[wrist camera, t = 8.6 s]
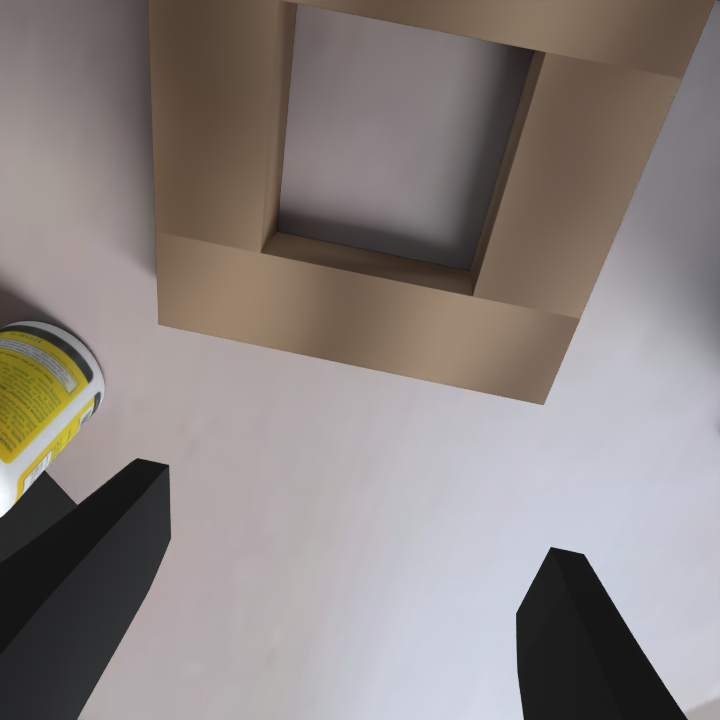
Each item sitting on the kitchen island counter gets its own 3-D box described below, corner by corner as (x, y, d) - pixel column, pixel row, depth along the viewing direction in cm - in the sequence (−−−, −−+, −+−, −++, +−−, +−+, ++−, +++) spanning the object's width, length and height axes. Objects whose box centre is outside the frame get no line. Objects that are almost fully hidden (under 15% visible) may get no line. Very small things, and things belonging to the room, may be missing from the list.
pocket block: (715, -81, 13) (755, -96, 12) (535, 372, 20) (543, 405, 18) (178, -182, 14) (141, -211, 12) (181, 299, 20) (158, 324, 19)
